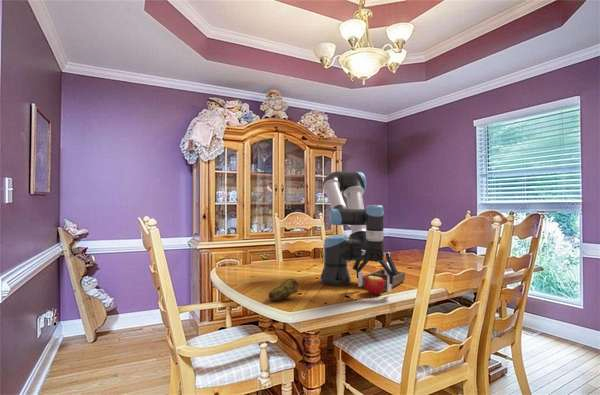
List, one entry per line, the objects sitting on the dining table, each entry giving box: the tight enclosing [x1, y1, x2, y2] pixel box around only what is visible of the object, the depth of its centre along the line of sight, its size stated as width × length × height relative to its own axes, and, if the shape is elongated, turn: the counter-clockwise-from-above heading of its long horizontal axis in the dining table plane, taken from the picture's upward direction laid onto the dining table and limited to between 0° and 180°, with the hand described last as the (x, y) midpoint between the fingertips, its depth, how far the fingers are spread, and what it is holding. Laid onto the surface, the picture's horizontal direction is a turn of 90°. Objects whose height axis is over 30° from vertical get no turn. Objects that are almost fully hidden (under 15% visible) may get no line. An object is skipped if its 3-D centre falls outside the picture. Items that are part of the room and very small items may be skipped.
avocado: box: [268, 278, 299, 302], centre depth 133 cm, size 8×13×8 cm, turn 104°
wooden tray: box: [362, 268, 406, 292], centre depth 159 cm, size 12×23×5 cm, turn 143°
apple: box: [365, 270, 384, 295], centre depth 143 cm, size 8×8×10 cm
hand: (374, 288), depth 143 cm, fingers open, 13 cm apart
